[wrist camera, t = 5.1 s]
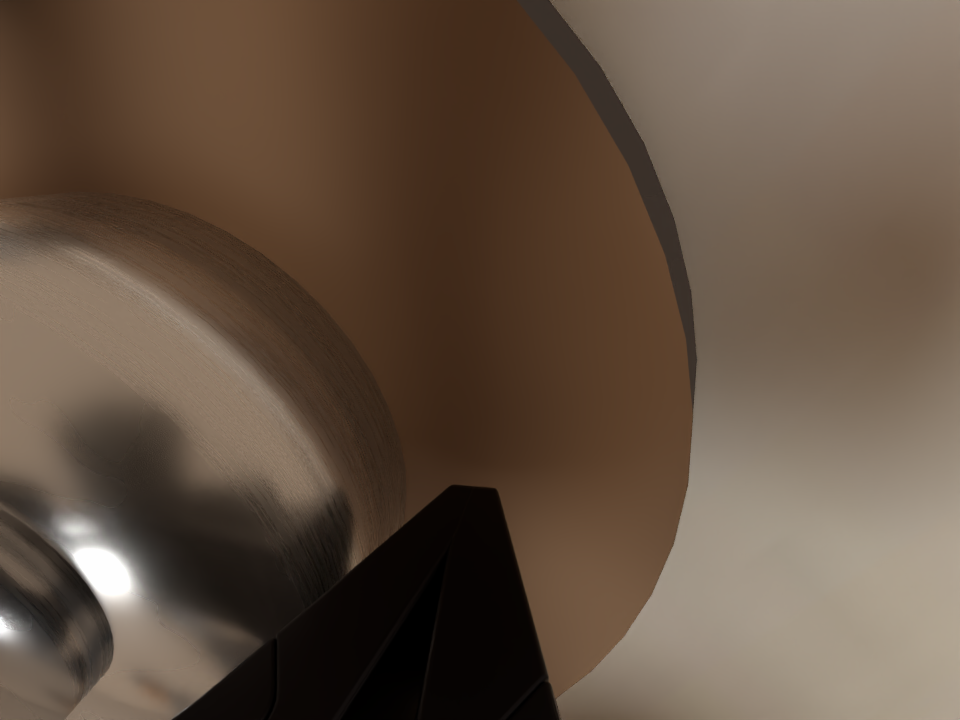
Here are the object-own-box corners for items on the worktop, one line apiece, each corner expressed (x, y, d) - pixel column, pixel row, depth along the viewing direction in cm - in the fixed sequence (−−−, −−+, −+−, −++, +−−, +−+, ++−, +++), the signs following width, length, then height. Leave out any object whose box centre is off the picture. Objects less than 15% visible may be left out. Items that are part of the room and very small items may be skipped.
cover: (369, 181, 7) (139, 222, 3) (428, 650, 11) (354, 905, 7) (-152, 200, 9) (-679, 239, 5) (62, 597, 13) (-146, 781, 9)
